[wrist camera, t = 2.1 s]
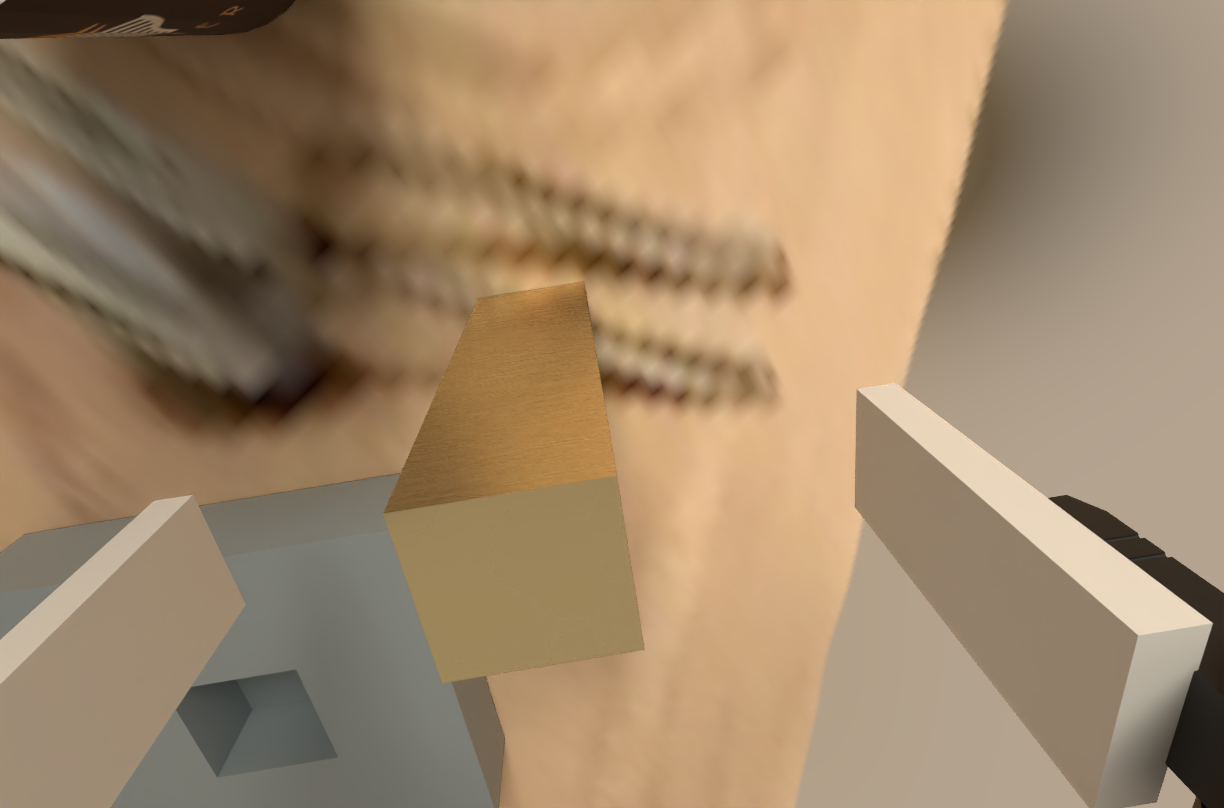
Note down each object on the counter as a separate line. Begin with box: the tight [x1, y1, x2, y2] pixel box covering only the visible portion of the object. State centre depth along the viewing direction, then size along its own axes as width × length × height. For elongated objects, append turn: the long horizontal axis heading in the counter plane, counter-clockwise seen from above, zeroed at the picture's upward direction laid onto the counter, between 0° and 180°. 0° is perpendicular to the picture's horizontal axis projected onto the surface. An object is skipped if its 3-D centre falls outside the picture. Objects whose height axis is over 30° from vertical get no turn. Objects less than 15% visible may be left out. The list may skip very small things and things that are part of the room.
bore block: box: [0, 473, 505, 808], centre depth 24 cm, size 14×14×4 cm
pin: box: [383, 282, 644, 683], centre depth 15 cm, size 3×3×12 cm
